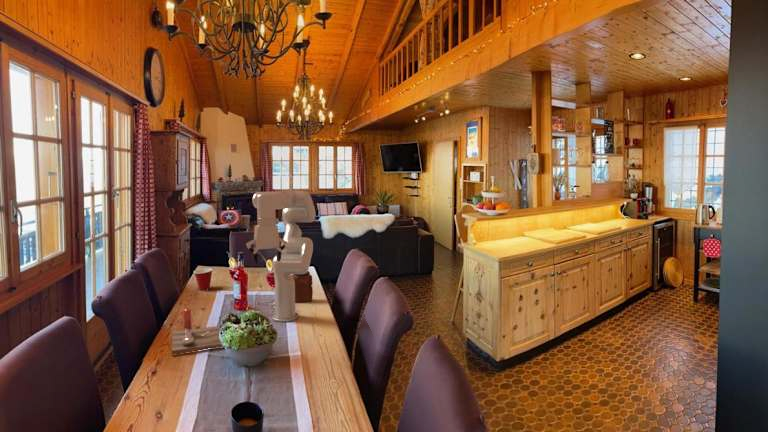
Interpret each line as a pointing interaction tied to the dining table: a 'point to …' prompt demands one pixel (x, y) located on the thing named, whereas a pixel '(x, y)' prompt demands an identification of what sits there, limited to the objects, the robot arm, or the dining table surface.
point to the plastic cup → (203, 278)
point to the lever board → (196, 340)
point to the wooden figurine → (303, 287)
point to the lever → (187, 327)
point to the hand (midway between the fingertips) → (267, 261)
